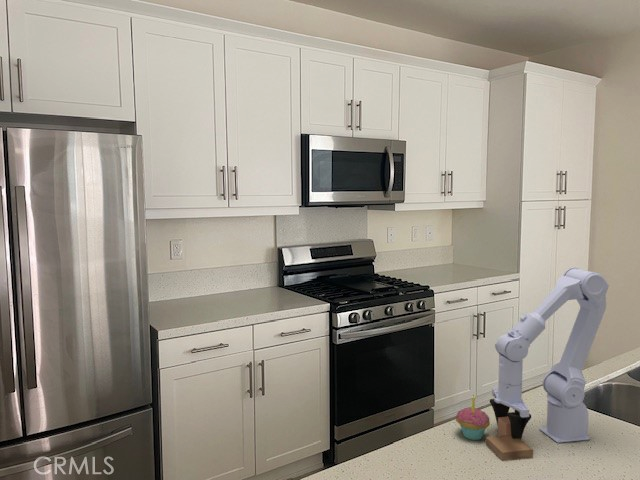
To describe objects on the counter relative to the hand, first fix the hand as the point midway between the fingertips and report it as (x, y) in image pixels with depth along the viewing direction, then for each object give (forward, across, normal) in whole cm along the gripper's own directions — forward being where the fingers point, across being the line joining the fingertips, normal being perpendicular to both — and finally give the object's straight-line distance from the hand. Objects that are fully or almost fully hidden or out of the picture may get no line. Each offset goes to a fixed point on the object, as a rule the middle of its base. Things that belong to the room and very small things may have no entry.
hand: (508, 432), depth 133 cm
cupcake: (+2, -3, -8) cm, 9 cm away
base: (+2, +6, -3) cm, 7 cm away
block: (+2, 0, 0) cm, 2 cm away
